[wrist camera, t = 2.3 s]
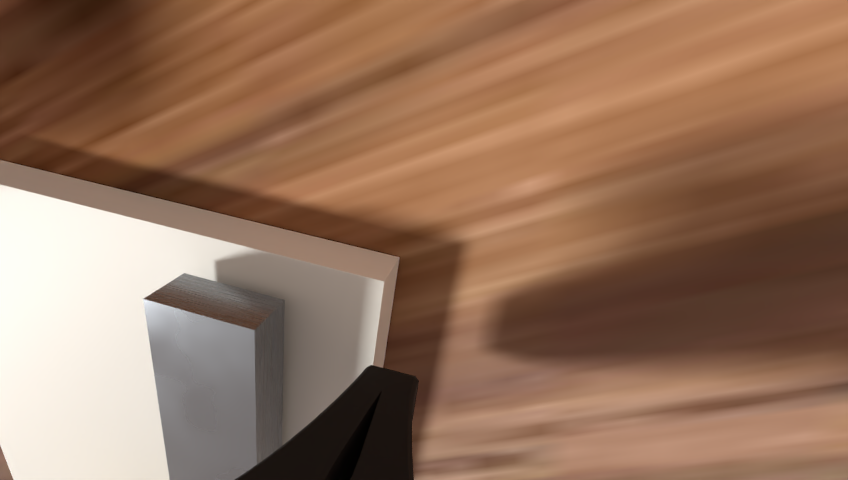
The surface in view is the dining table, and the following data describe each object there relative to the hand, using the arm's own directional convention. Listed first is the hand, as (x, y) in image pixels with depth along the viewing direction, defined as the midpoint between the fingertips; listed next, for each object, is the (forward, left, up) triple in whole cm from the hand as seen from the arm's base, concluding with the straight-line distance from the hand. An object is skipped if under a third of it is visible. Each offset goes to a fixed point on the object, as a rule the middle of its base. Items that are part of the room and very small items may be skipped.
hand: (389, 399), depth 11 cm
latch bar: (-4, +5, 0) cm, 6 cm away
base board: (-6, +9, -2) cm, 11 cm away
